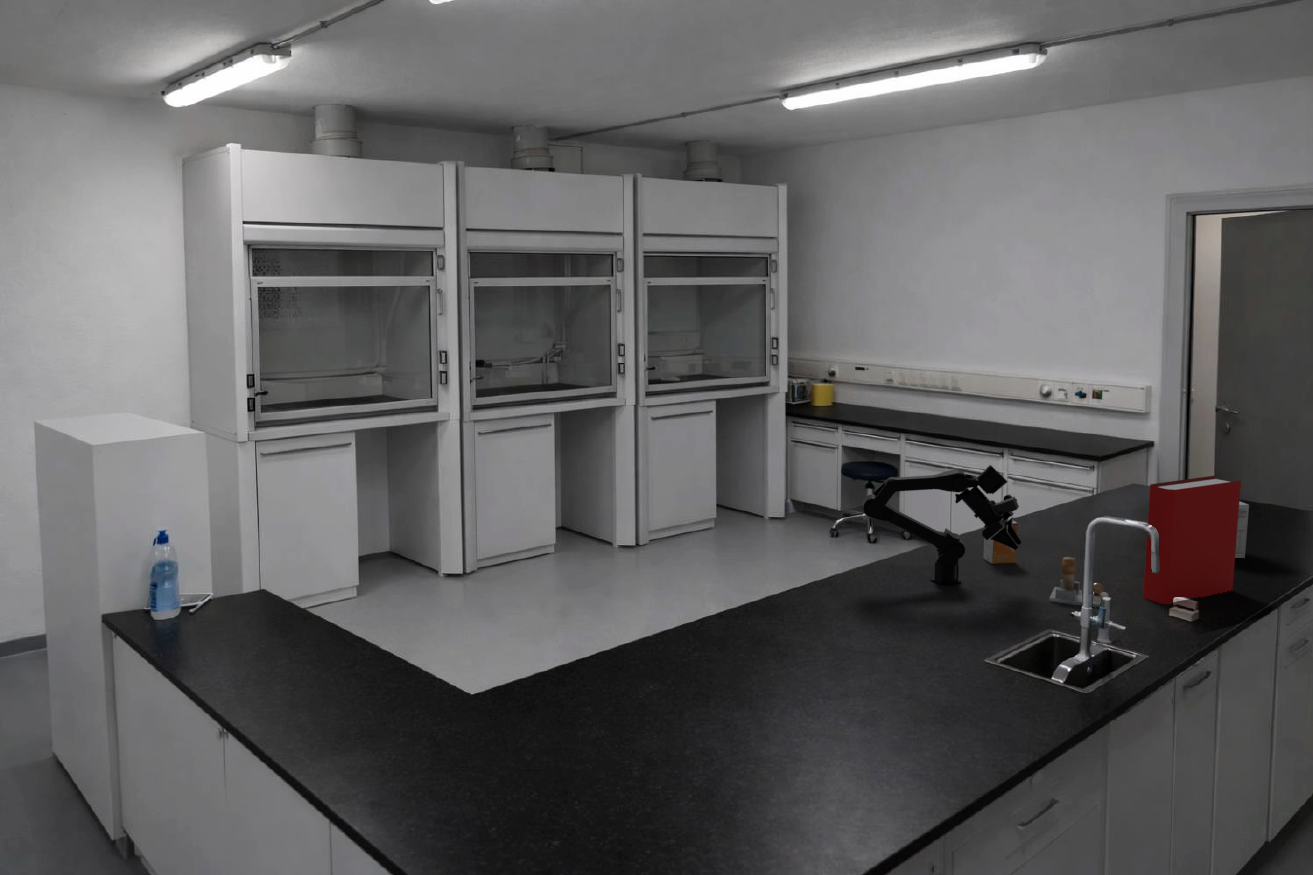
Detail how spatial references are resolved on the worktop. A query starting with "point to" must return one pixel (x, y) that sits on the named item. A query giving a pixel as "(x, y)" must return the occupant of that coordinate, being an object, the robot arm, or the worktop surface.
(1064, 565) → the lever
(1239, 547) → the supplement box
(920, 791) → the worktop surface
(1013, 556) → the small box
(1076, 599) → the nutcracker base
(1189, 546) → the book
